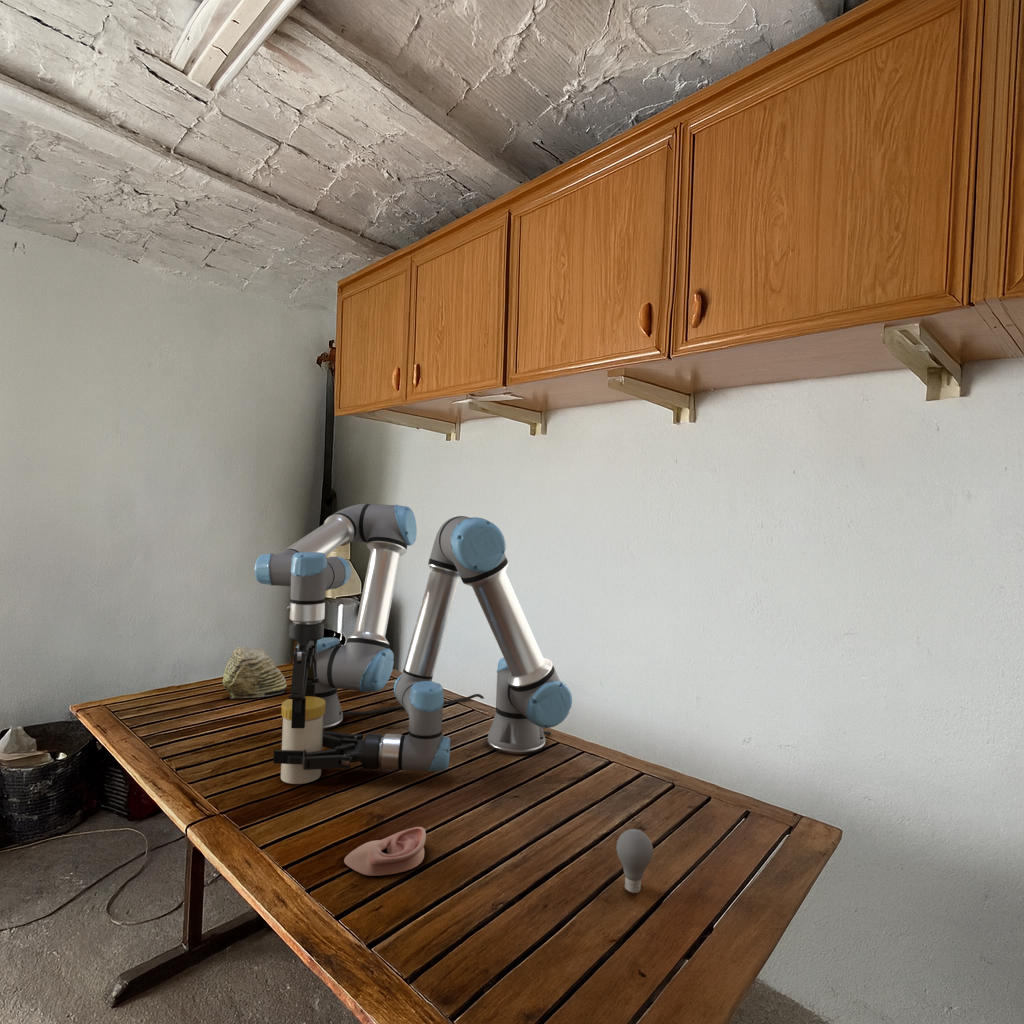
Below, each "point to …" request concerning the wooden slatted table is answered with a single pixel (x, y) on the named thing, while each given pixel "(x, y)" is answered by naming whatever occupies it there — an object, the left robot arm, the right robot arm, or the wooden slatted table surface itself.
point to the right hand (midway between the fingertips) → (281, 748)
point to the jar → (301, 749)
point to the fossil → (252, 674)
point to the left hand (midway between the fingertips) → (303, 719)
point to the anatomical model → (389, 853)
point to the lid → (313, 708)
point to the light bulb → (634, 857)
